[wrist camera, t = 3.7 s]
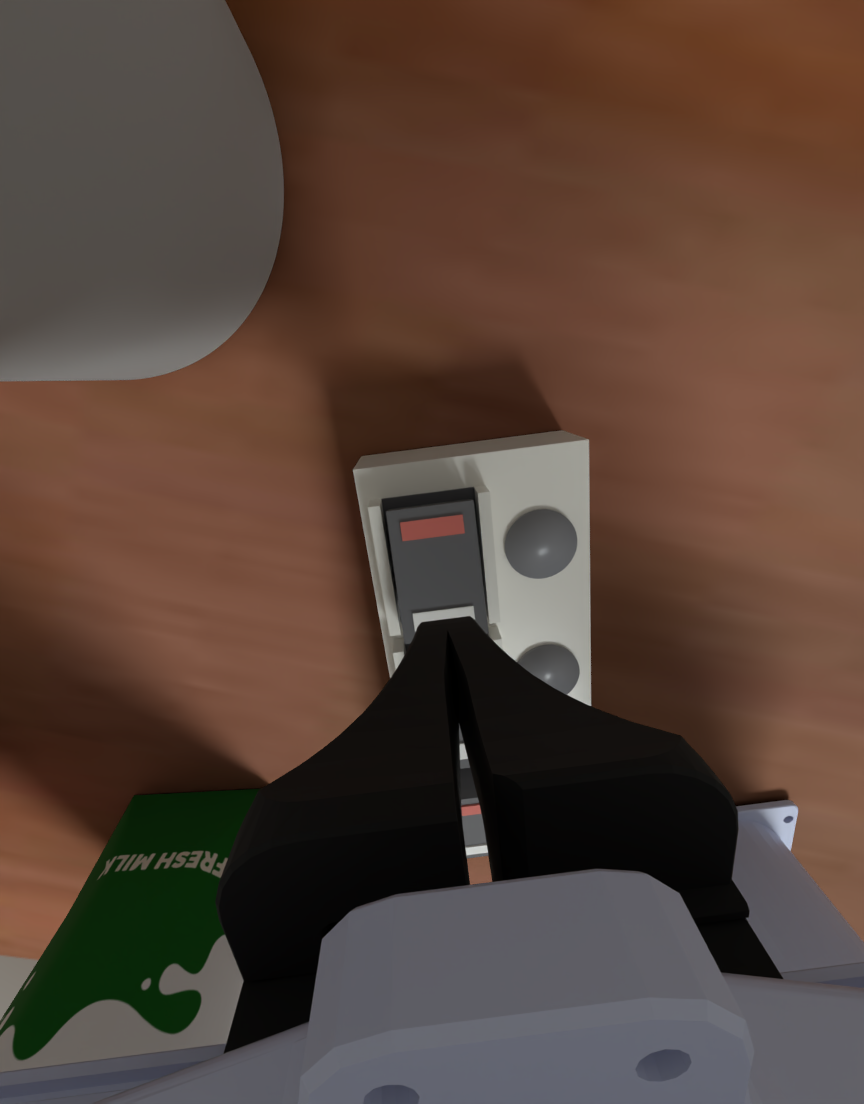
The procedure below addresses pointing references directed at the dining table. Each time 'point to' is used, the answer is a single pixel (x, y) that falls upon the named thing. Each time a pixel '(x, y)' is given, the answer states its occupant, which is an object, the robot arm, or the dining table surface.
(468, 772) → the rocker
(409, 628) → the rocker
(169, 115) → the cylinder vase
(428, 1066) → the robot arm
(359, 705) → the dining table surface
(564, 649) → the switch panel
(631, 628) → the dining table surface
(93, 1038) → the milk carton
